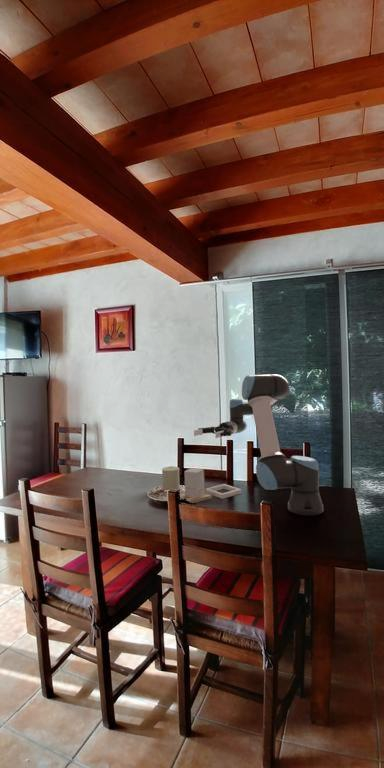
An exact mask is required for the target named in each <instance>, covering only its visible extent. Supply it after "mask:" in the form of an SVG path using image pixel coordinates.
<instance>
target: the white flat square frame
mask: <svg viewBox="0 0 384 768" xmlns="http://www.w3.org/2000/svg"><path fill="white" fill-rule="evenodd" d="M221 490H226V492H223V493H222V492H220V491H221ZM205 493H206V494H209V495H212V497H217V498H219V499H222V500H223V499H226V498H230V497H233V496H237V495H240V494H242V488H238V487H235V486H232V485H229V484H226V483H222V484H218V485H215V486H214V485H213V486H211V487H207V488H205Z"/></svg>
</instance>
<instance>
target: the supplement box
mask: <svg viewBox="0 0 384 768" xmlns="http://www.w3.org/2000/svg"><path fill="white" fill-rule="evenodd" d="M205 489H206V488H205V469H204V468H196V467H195V468H194V467H191V468H189V469H186V470H184V494H185V496H187V497H193V498H199V497H201V496H203V495H204V494H205Z"/></svg>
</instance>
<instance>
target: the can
mask: <svg viewBox="0 0 384 768" xmlns="http://www.w3.org/2000/svg"><path fill="white" fill-rule="evenodd" d="M161 470H162V471H161V472H162V491H163V490H169V489H176V490H177V489H178V490H179V489H180V490H181V486H180V467H178V466H164V467H162V468H161ZM166 492H167V491H166ZM166 492H165V493H166Z"/></svg>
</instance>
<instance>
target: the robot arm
mask: <svg viewBox="0 0 384 768" xmlns="http://www.w3.org/2000/svg"><path fill="white" fill-rule="evenodd" d="M289 393H290V384H289V382H288V380H287V379H286V378H285V377H284V376H282V375H281V374H276V373H275V374H251V375H246V376H245V377H244V379H243V381H242V384H241V398H231V399H230V400H229V421H225V422H221V423H220V424H219V425H218V426H209V427H199V428H197V429H194V430H193V437H196V436H202V435H203V434H215V439H218V438H222V437H227V436H228V437H230V436H232V435H235V434H240V433H242V432H244V431H245V430H247V426H248V425H247V422H246V420H245V419H244V416H250V415H251V416H253V419H254V424H255V425H254V426H255V430H256V434H257V441H258V445H259V450H260V457H259V459H258V463H257V464H256V466H255V472H256V473H255V474H256V477H257V481H258V483H259V485H260V486H261V487H262V488H263V489H264V490H268V491H269V490H273V491H275V490H279V489H280V490H281V489H291V492H290V496H289V499H288V502H287V510H288V511H289V512H290V513H292V514H295V515H298V516H299V515H301V516H317V515H321V514H322V513H324V504H323V501H322V498H321V495H320V489H319V488H320V478H319V477H320V474H319V473H320V469H319V462H318V460H316V459H315V458H312V457H309V456H302V455H292V456H291V457H290V460H287V458H286V455H285V454H284V453H282V451H281V448H280V443H279V438H278V434H277V433H278V432H277V429H276V426H275V425H276V424H275V420H274V414H273V411H272V410H273V409H272V406H273V405H274V404H275V403H276V402H277V401H281V400H283V399H284V398H286V397H287V396H288V394H289Z"/></svg>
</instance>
